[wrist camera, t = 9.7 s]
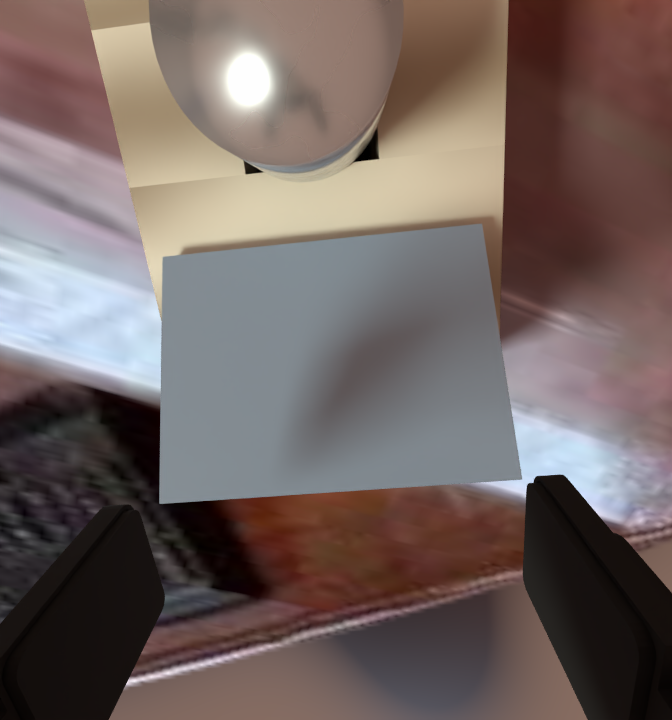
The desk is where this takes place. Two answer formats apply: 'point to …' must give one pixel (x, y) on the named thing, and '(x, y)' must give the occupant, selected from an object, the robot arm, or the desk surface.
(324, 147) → the light bulb
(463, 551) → the desk surface
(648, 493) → the desk surface
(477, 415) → the plate
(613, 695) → the robot arm
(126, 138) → the block
